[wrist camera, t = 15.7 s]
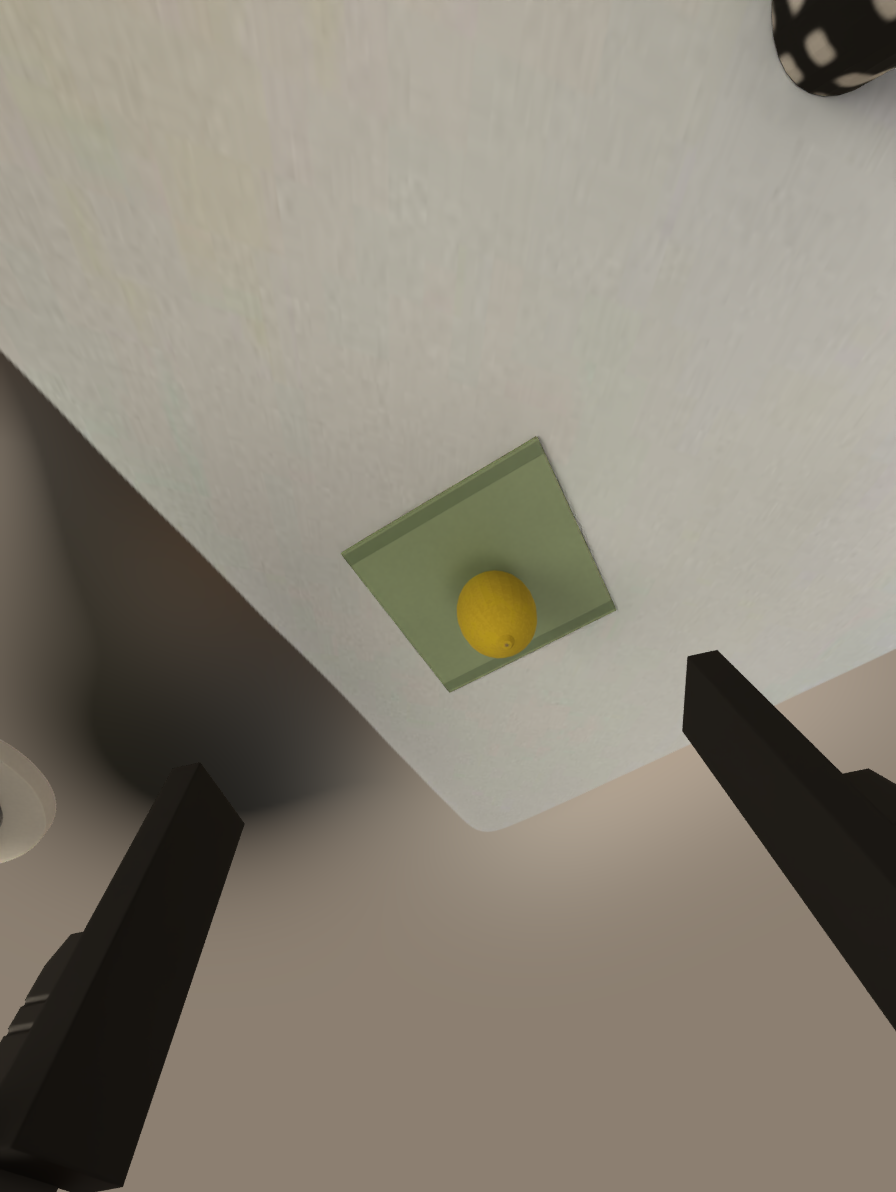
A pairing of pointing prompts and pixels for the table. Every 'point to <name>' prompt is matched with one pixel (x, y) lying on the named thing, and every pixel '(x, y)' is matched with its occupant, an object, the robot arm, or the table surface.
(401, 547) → the napkin
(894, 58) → the white-spotted black cylinder
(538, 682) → the table surface
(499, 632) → the lemon
